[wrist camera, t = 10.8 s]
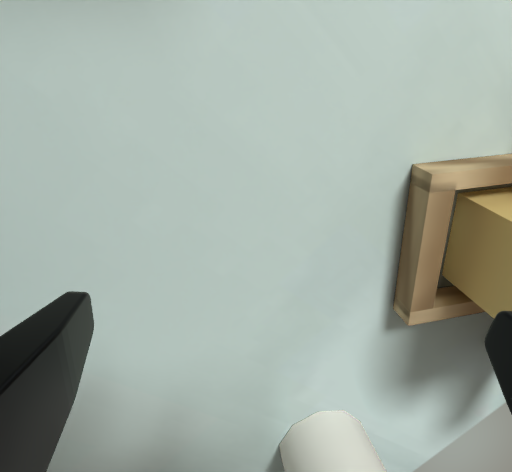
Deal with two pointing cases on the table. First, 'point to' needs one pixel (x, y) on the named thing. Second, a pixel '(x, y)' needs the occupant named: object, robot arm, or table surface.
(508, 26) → the table surface
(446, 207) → the wall board
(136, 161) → the table surface
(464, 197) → the grey-topped square block
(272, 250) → the table surface
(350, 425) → the fire extinguisher
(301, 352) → the table surface
